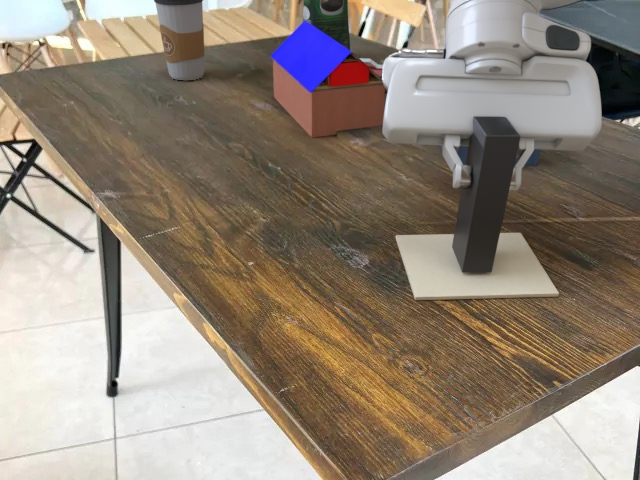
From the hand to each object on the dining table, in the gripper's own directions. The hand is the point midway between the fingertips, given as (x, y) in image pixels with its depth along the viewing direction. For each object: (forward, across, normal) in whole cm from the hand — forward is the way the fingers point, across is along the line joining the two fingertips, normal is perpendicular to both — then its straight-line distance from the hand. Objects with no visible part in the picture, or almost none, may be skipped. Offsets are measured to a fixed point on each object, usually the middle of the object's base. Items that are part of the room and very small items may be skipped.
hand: (486, 187), depth 61 cm
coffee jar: (-48, -21, +61) cm, 80 cm away
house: (-26, -18, +39) cm, 50 cm away
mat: (+6, 0, +7) cm, 9 cm away
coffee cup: (-37, -45, +50) cm, 77 cm away
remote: (+5, 0, +6) cm, 8 cm away
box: (-15, +5, +28) cm, 32 cm away
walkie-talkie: (-37, -14, +50) cm, 64 cm away
